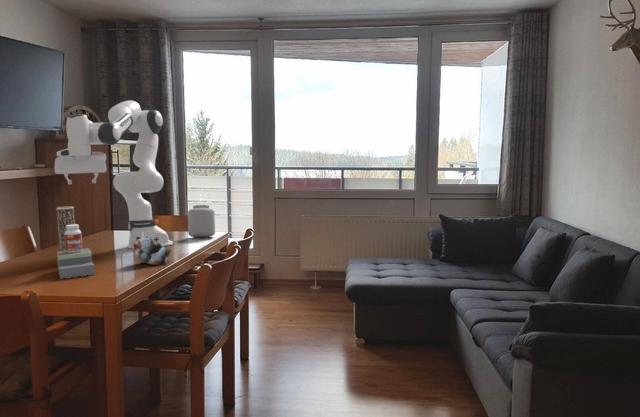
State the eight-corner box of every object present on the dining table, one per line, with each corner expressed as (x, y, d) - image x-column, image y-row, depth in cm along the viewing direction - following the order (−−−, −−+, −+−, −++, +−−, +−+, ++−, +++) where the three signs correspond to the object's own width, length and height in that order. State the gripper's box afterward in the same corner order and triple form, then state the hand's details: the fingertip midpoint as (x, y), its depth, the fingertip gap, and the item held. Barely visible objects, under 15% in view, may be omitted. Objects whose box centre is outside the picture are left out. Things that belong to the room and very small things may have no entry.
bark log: (81, 261, 214) (77, 206, 211) (69, 264, 208) (64, 208, 205) (70, 260, 216) (65, 206, 214) (57, 263, 210) (52, 207, 207)
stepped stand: (90, 266, 204) (88, 247, 203) (94, 274, 189) (93, 254, 188) (58, 270, 198) (56, 250, 197) (60, 279, 183) (58, 258, 182)
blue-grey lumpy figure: (165, 265, 202) (146, 239, 197) (141, 276, 204) (122, 250, 199) (174, 249, 216) (157, 224, 211) (152, 259, 218) (135, 234, 213)
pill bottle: (66, 253, 191) (64, 226, 190) (65, 251, 196) (62, 224, 195) (83, 251, 195) (81, 225, 193) (81, 249, 200) (79, 223, 199)
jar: (191, 235, 280) (189, 193, 277) (217, 234, 282) (215, 192, 279) (186, 240, 262) (184, 195, 259) (214, 239, 263) (212, 194, 261)
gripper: (104, 151, 214) (107, 182, 215) (52, 152, 203) (55, 184, 205) (106, 151, 208) (108, 182, 210) (53, 152, 198) (56, 185, 200)
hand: (82, 183), depth 207 cm, fingers open, 8 cm apart
